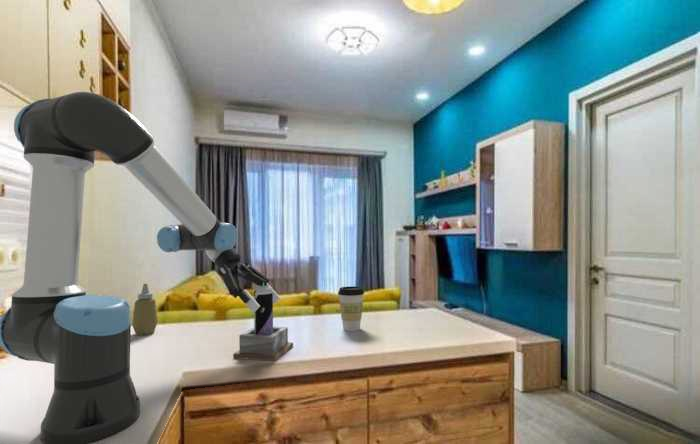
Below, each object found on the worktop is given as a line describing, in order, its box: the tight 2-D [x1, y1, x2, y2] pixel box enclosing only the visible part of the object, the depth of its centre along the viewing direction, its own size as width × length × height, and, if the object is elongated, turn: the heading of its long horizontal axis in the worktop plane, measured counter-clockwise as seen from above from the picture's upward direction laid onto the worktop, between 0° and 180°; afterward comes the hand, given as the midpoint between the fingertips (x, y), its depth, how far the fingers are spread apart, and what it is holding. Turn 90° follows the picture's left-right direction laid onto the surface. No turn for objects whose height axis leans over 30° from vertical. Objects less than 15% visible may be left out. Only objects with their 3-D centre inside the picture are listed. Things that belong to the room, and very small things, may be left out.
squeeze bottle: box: [131, 283, 158, 336], centre depth 130 cm, size 8×8×18 cm
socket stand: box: [232, 326, 294, 362], centre depth 107 cm, size 13×13×6 cm
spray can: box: [253, 281, 274, 335], centre depth 107 cm, size 6×6×20 cm
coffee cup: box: [337, 285, 365, 332], centre depth 132 cm, size 10×10×15 cm
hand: (267, 305), depth 107 cm, fingers open, 13 cm apart
